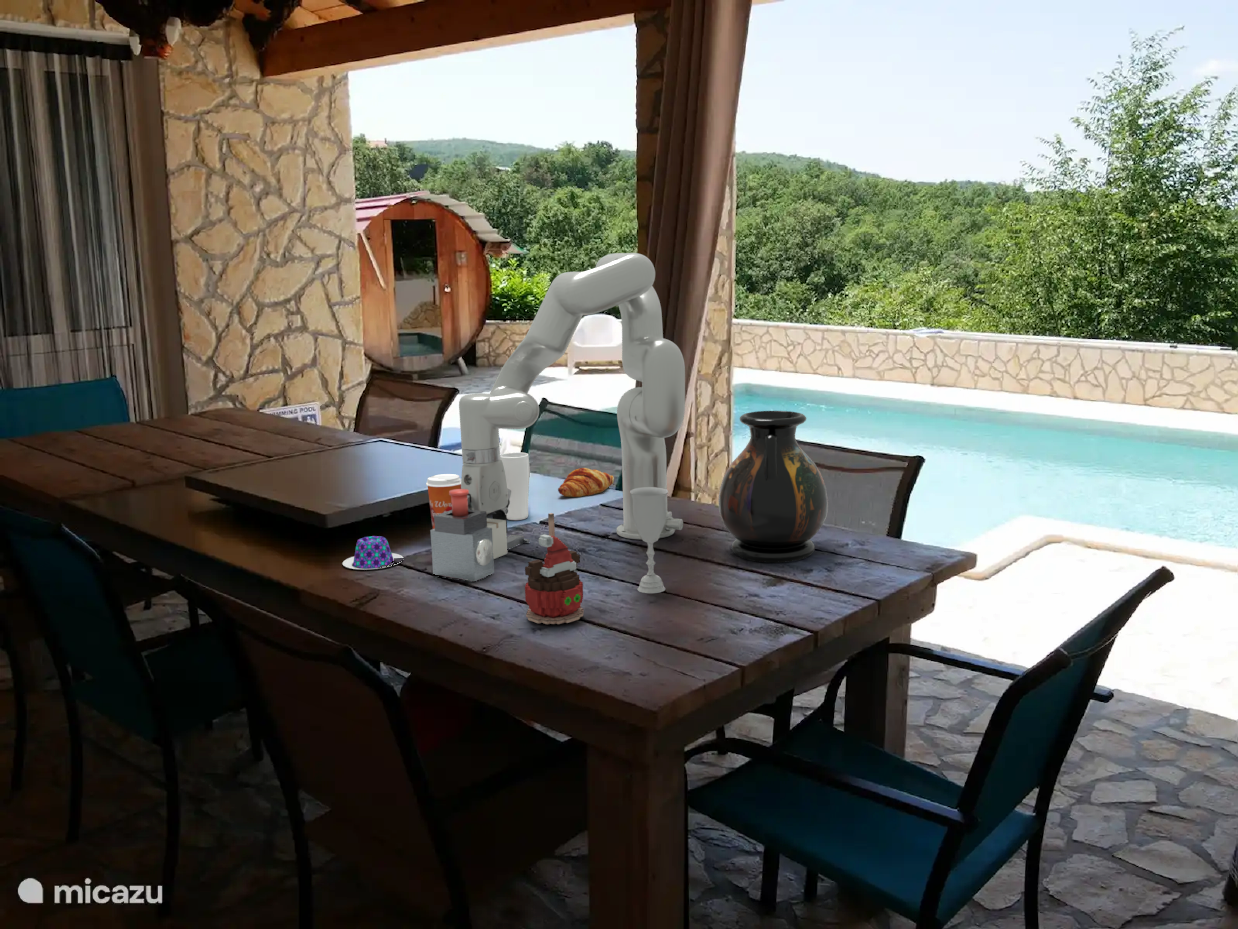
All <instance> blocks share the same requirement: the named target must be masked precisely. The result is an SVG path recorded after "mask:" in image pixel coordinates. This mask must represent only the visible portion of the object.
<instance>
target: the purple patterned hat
mask: <svg viewBox="0 0 1238 929" xmlns="http://www.w3.org/2000/svg"><path fill="white" fill-rule="evenodd" d="M355 544H356V546H355V550H354V551H355V552H354V556H350V557H348V558H346V559H345V560H343V562H342V565H343V567H345V568H347V569H353V570H364V571H365V570H366V571H367V570H369V569H373V570H378V569H380V568H381V567H380V566H382V565H388V566H387V567H386V566H382V568H381V569H385V568H389V567H392V565H391V566H389V564H390V562H392V561H394V558H404V557H403V556H402V555H401V554H398V553H394V552H392V550H391V548H390V544H389V542H388V539H387V538H386V537H384V536H380V535H379V536H377V535H372V536H364V537H362V538H359V539H357V542H356V543H355ZM400 563H401V562H399V563H397V564H394V565H393V566H395V565H398V564H400ZM378 567H380V568H378Z"/></svg>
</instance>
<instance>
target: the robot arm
mask: <svg viewBox="0 0 1238 929" xmlns="http://www.w3.org/2000/svg"><path fill="white" fill-rule="evenodd" d="M655 278H656V270H655V267H654V263H653V262H652V261H651V260H650V258H648V257H647V256H646V255H644V254H641V253H638V252H618V253H617V252H615V253H614V252H613V253H608V254H606V255H603V256H602V257H601V258H599V259H598V261H597V263H596V264H595V267H593V268H591V269H587V270H584V271H567V272H562V273H560V274H558V275H557V276H556V277H555V278H554V279H553V280H552V281H551V283H550V286H549V288H548V289H547V292H546V294H545V296H544V298H543V300H542V301H541V304H540V306H539V307H538V310H537V313H536V315H535V316H534V318H533V321H532V323H531V325H530V327H529V329H528V331H527V333H526V335H525V336H524V337H523V339H522V341H520V342H519V344H518V345H517V347H516V348H515V350H514V351H513V352H512V354H510V356H509V357H508V359H507V360H506V361H505V362H504V364H503V366H502V367H501V369H500V372H499V373H498V376H497V378H496V380H495V382H494V384H493V386H492V388H491V390H490V393H482V392H481V393H470V394H465V395H463V396H461V397H460V399H459V401H458V411H459V413H458V414H459V424H460V425H459V427H460V439H461V440H460V442H461V457H462V467H461V477H460V479H461V489H467V490H469V494H468V495H467V499H468V509H470V510H478V511H486V515H488V514H491V515H492V519H499V520H506V534H508V519H507V515H505V514H507V513H508V509H507V508H508V506H509V504H510V501H509V500H510V496H511V490H510V489H507V482H506V475H505V470H504V466H503V462H502V460H501V459H500V455H501V450H500V449H501V447H500V432H499V431H500V430H499V429H505V430H506V429H507V430H523V429H526V428H529V427H531V426H533V425H534V424H535V423H536V421H537V420H538V418H539V414H540V406H539V403H538V401H537V400H536V399H535V398H534V397H533V395H531V394H529V391H530V389H531V388H532V385H533V384H534V382H535V381H536V379H537V378H538V377H539V375H541V373H542V372H543V371H545V370H546V369H547V368H548V367H550V366H551V365H553V364H555V363H556V362H558V360H560V359H561V358H562V357H563V356H564V355H565V353H566V352H567V350H568V347H569V345H570V343H571V340H572V338H573V336H574V334H575V332H576V330H577V327H578V325H579V324H580V322H581V320H582V319H583V316H590V315H594V314H598V313H600V312H601V313H602V312H603V311H607V310H609V309H612V308H614V307H616V306H618V309H619V312H620V316H621V346H622V347H621V349H622V350H621V351H622V352H621V362H622V369H623V371H624V373H625V375H627V376H628V377H629V378H630V379H633V380H634V381H638V382H641V387H640V386H637V387H633V388H631V389H628V390H627V391H625V392H624V393H623V394H622V396H621V397H620V398H619V401H618V403H617V408H616V418H617V425H618V431H619V436H620V442H621V443H620V446H621V471H622V472H621V475H622V476H621V477H622V478H621V479H622V509H623V510H622V512H623V514H622V515H623V516H622V517H623V524H622V523H621V524H620V525H618V526H617V527H616V534H617V535H618V536H620V537H622V538H625V539H631V540H642V538H641V536H640V534H639V532H638V530H637V528H636V525H635V522H634V519H633V497H632V495H631V493H630V491H631V490H633V489H636V488H643V487H657V488H663V489H666V490H668V489H667V488H668V485H667V478H668V477H667V449H666V448H667V446H666V440H665V438H669V437H671V436H674V435H675V434H676V433H677V432H678V431H679V430H680V428H681V427H682V424H683V421H684V418H685V412H686V411H685V410H686V408H685V407H686V368H685V367H686V366H685V365H686V364H685V360H684V356H683V353H682V351H681V349H680V347H679V346H678V345H677V344H676V343H674V342H673V341H671V340H669V339H666V338H664V334H663V333H664V331H663V328H664V327H663V317H662V316H663V315H662V312H663V311H662V306H661V303H660V302H661V301H660V299H659V296H658V294H657V291H656V289H655V288H654V286H653V285H654V282H655ZM672 513H673V511H668V495H667V496H666V520H665V524H664V527H663V529H662V532H661V534H660V536H659V539H663V538H667V537H670V536H672V535H674V534H675V533H676V532H675V531H676V530H679V531H681V530H683V527H684V520H683V519H682V518H674V517H673V514H672Z"/></svg>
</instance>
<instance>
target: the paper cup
mask: <svg viewBox="0 0 1238 929" xmlns="http://www.w3.org/2000/svg"><path fill="white" fill-rule="evenodd" d="M426 480H427V481H426V483H425V485H426V486H427V493H428V501H429V509H430V517H431V518H430V519H431V526H432V529H435V524H434V516H435V515H438V514H441V513H444V512H447V511H450V510H452V500H451V495H450V493H449V491H451V490H454V489H461V477H460V475H459V474H455V473H454V474H452V473H443V474H435V475H432V476H429V477H427V479H426Z"/></svg>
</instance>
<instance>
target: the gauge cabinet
mask: <svg viewBox="0 0 1238 929" xmlns="http://www.w3.org/2000/svg"><path fill="white" fill-rule="evenodd" d="M487 515H488V514H486V511H478V510H470V509H468V515H466V516H460V517H458V516H453V515H452V510H450V511H447V512H444V513H441V514H438V515H435V516H434V524H435V529H433V528H432V529H430V530H429V531H430V544H431V546H430V547H431V558H432V559H431V561H432V563H431V564H432V575H433V574H435V575H444V576H445V575H446V576H450V577H455V578H463V579H468V580H472V581H476V582H478V581H477V580H478V579H480V578H483V579H485V578H487V577H486V576H488V575H490V576H492V575H493V574H492V573H494V574H495V563H494V561H495V559H493V540H492V528H488V527H487V518H488V517H487ZM491 574H492V575H491ZM484 577H485V578H484ZM488 577H489V576H488ZM472 581H471V582H472Z"/></svg>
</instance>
